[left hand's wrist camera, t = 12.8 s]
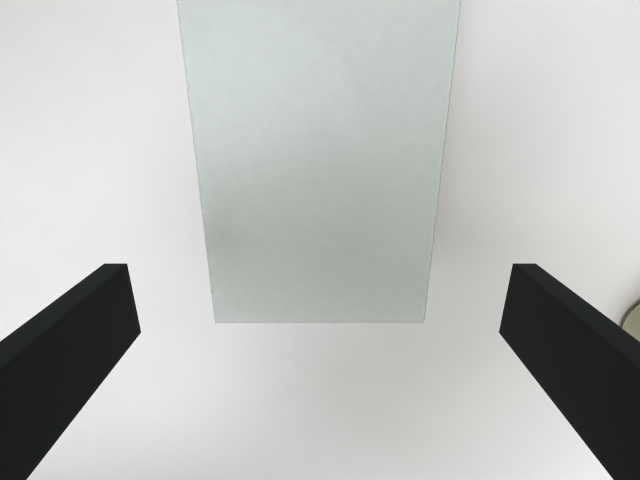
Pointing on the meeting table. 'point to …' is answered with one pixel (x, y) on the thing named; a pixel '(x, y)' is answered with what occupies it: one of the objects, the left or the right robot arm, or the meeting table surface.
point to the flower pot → (633, 323)
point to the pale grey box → (319, 152)
